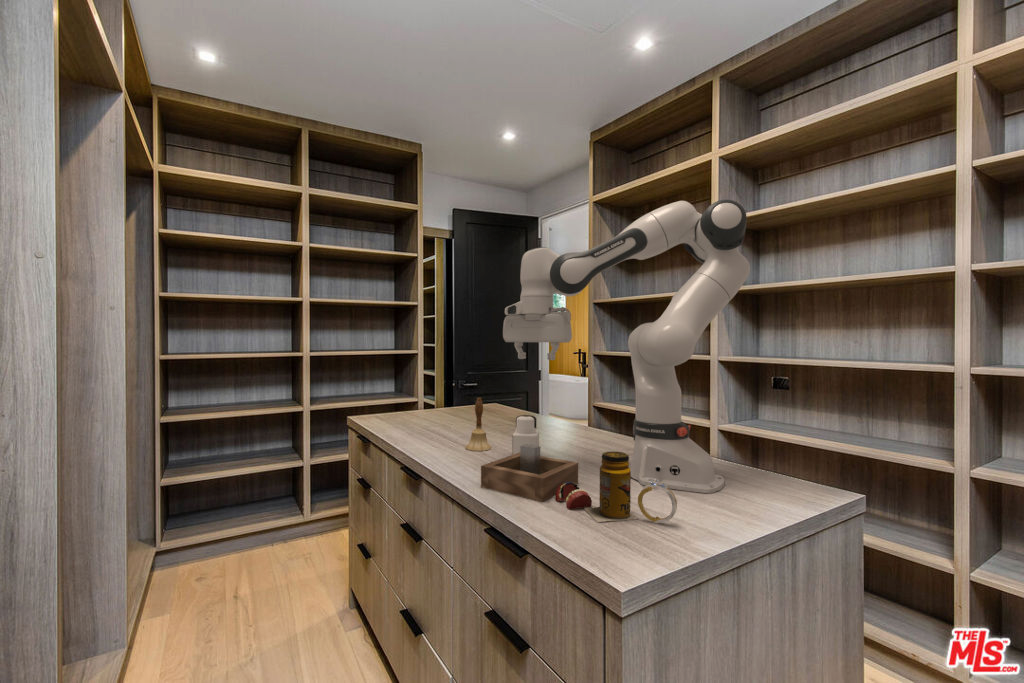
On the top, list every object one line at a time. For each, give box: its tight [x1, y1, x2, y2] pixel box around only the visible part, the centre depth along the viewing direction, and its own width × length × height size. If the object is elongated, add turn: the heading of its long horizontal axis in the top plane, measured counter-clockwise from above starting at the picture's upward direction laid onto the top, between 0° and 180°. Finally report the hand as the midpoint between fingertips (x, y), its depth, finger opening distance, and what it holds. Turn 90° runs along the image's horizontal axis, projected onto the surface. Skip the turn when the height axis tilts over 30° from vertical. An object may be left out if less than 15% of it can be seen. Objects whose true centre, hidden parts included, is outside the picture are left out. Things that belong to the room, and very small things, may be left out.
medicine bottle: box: [511, 414, 540, 455], centre depth 140 cm, size 7×7×12 cm
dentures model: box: [554, 482, 593, 510], centre depth 101 cm, size 6×4×8 cm
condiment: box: [583, 450, 639, 523], centre depth 95 cm, size 7×8×12 cm
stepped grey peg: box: [520, 444, 541, 475], centre depth 113 cm, size 4×6×9 cm, turn 144°
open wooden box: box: [480, 453, 579, 503], centre depth 113 cm, size 17×16×5 cm
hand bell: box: [465, 397, 492, 452], centre depth 151 cm, size 8×8×16 cm
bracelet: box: [637, 479, 678, 525], centre depth 90 cm, size 7×3×8 cm, turn 55°
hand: (536, 359), depth 130 cm, fingers open, 8 cm apart
